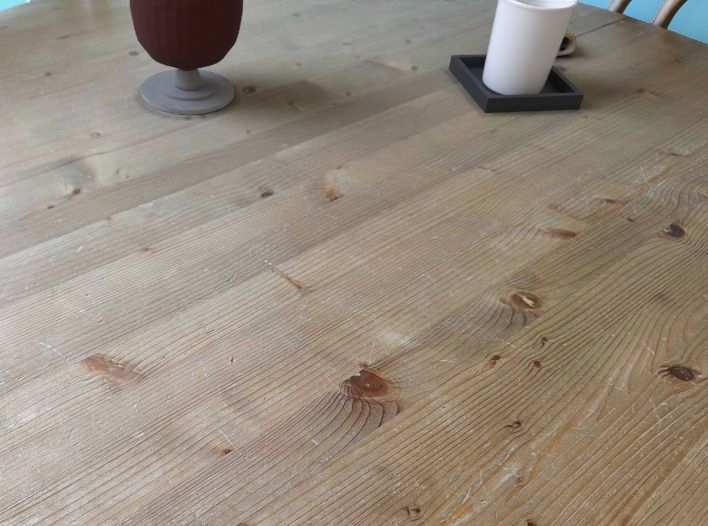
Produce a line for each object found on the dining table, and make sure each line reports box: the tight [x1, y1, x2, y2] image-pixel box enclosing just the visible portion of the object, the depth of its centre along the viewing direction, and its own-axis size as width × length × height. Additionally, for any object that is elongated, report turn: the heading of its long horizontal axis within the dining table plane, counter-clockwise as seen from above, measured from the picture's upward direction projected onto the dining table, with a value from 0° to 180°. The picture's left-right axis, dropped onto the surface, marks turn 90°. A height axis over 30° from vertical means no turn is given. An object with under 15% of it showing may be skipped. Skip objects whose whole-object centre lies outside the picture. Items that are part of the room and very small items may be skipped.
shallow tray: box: [448, 53, 585, 113], centre depth 104 cm, size 14×14×2 cm
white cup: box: [482, 0, 579, 95], centre depth 100 cm, size 10×10×12 cm
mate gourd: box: [128, 0, 244, 116], centre depth 92 cm, size 16×14×20 cm
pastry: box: [556, 29, 578, 57], centre depth 115 cm, size 9×7×4 cm
